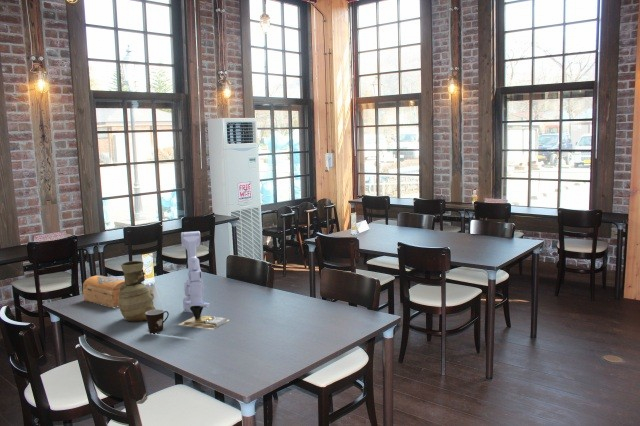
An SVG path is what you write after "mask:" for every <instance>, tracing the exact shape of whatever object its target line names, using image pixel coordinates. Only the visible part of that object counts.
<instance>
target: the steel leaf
mask: <svg viewBox="0 0 640 426" xmlns="http://www.w3.org/2000/svg"><path fill="white" fill-rule="evenodd" d="M212 319H213V320H211V321H209V320H206V321H204V324H212V325H216V327H217V328H218V327H220V326H222V325H223V323H224V324H225V323H226V322H225V319H226V317H218V316H212ZM221 324H222V325H221ZM219 325H220V326H219Z"/></svg>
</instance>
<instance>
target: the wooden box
mask: <svg viewBox="0 0 640 426" xmlns="http://www.w3.org/2000/svg"><path fill="white" fill-rule="evenodd" d="M124 283H125V279H119V278H115V277H111V276H104V275H101V274H100V275H99V274H98V275H94V276H89V277H88V278H86V279H85V280H84V282H83V283H82V292H83V294H82V295H83V300H85V302H87V301H90V302H89V303H91V302H95V303H98V304H97V305H99V304H102V305H101V306H103V305H106V306H105V307H107V306H110V307H117V306H119V293H120V288H121V286H122V285H123V284H124ZM95 303H94V304H95ZM110 307H109V308H110ZM117 308H118V307H117Z"/></svg>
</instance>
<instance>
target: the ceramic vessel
mask: <svg viewBox="0 0 640 426" xmlns="http://www.w3.org/2000/svg"><path fill="white" fill-rule="evenodd" d="M120 266H121V267H120V268H121V269H122V273H123V275H124V278H123V280H125V283H124V284H123V285H122V286H121V288H120V293H119V307H118V308H119V311H120V313H121V315H122V317H123V318H124V319H125V320H126V321H127V322H130V321H131V322H132V323H133V322H136V321H137V322H144V320H145V321H147V319H146V314H145V313H146V312H147V311H150V310H156V307H155V305H154V301H153V300H154V299H155V296H154V293H153V290H152V289H151V288H149V287H147V286H146V285H145V284H144V283H143V282H144V281H146V279H145V275H146V272H144V271H143V268H144V261H141V260H131V261H126V262H123V263H121V265H120ZM131 322H130V323H131Z"/></svg>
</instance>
